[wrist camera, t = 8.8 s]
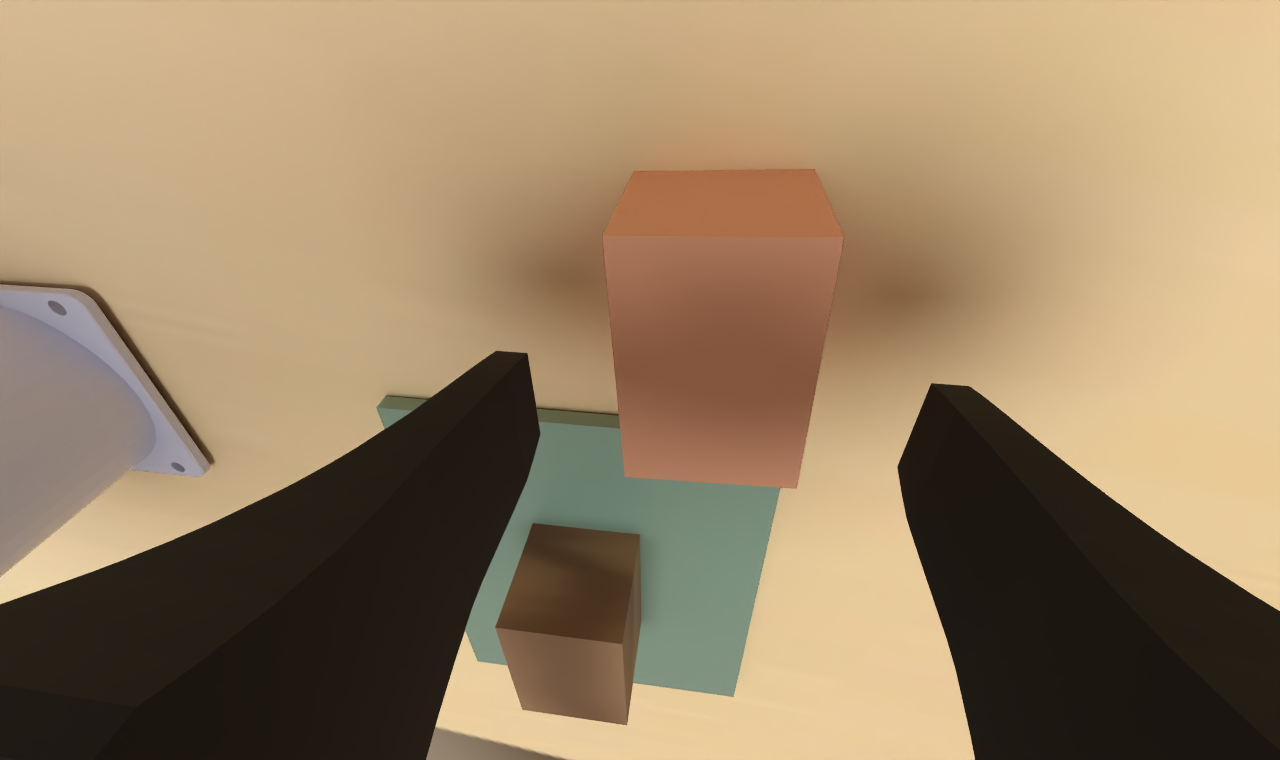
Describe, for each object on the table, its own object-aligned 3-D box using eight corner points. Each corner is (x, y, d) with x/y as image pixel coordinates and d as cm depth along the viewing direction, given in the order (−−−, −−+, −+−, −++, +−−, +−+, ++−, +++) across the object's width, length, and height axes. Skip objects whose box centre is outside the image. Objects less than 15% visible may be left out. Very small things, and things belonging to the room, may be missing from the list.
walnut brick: (550, 610, 23) (522, 709, 20) (532, 523, 20) (494, 627, 17) (641, 621, 23) (626, 725, 20) (640, 534, 19) (622, 644, 16)
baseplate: (482, 649, 28) (477, 661, 27) (385, 396, 18) (376, 407, 17) (733, 683, 26) (733, 696, 26) (788, 429, 16) (790, 443, 16)
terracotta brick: (645, 377, 16) (624, 476, 13) (635, 169, 12) (602, 236, 9) (783, 383, 15) (797, 488, 12) (813, 167, 12) (844, 237, 9)
